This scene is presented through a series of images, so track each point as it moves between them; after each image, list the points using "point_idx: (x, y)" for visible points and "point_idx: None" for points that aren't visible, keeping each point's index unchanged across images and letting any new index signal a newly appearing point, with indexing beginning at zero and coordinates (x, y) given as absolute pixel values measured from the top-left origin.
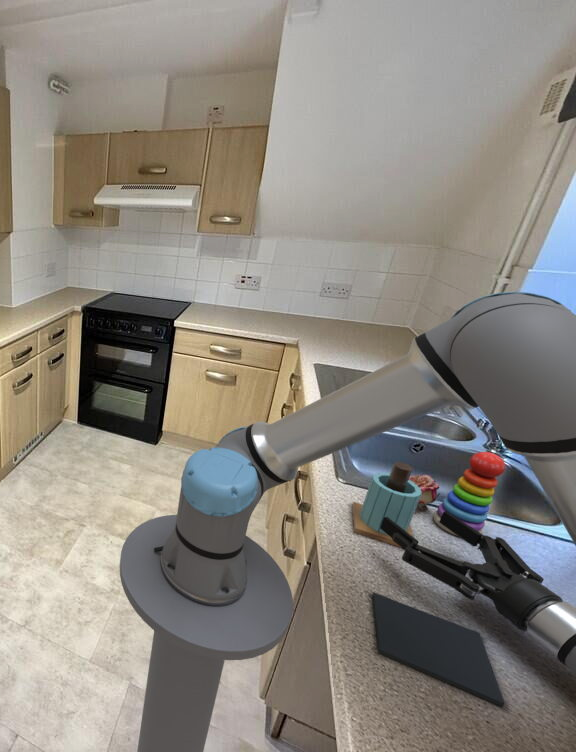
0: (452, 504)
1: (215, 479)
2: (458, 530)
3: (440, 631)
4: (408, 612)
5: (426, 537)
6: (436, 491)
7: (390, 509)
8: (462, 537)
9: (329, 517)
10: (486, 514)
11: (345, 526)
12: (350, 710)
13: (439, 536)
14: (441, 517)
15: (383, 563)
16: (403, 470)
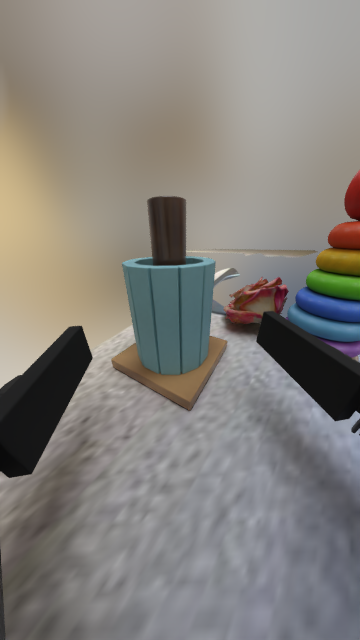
0: (301, 309)
1: None
2: (291, 359)
3: None
4: None
5: (244, 374)
6: (283, 298)
7: (139, 314)
8: (301, 382)
9: (107, 344)
10: None
11: (112, 357)
12: None
13: (271, 371)
14: (259, 328)
15: (70, 456)
16: (153, 201)
